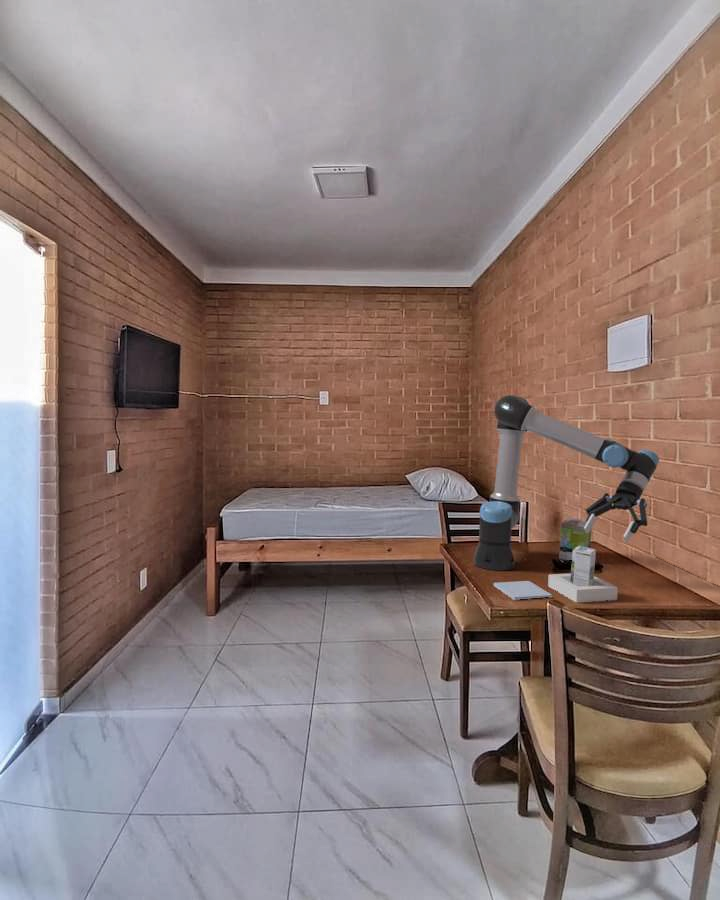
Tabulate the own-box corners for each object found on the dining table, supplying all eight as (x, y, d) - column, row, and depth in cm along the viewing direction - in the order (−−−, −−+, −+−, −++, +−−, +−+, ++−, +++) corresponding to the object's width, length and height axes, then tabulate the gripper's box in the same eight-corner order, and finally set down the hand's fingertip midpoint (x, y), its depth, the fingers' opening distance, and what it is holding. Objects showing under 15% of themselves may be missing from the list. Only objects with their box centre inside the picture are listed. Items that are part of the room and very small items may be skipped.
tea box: (585, 563, 189) (587, 526, 188) (558, 559, 195) (560, 522, 194) (590, 555, 202) (592, 520, 201) (564, 550, 207) (566, 516, 206)
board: (493, 585, 161) (493, 582, 161) (528, 583, 164) (528, 580, 164) (514, 600, 149) (514, 597, 149) (551, 597, 152) (551, 594, 151)
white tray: (548, 586, 162) (548, 574, 162) (585, 584, 165) (586, 572, 165) (576, 602, 148) (577, 589, 148) (617, 599, 151) (617, 587, 151)
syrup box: (574, 588, 161) (576, 545, 160) (593, 592, 157) (596, 548, 156) (569, 592, 156) (571, 548, 155) (588, 597, 153) (591, 552, 152)
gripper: (673, 499, 160) (647, 550, 153) (601, 489, 181) (575, 533, 173) (666, 484, 157) (639, 536, 149) (593, 476, 177) (566, 520, 170)
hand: (605, 535), depth 161 cm, fingers open, 13 cm apart
